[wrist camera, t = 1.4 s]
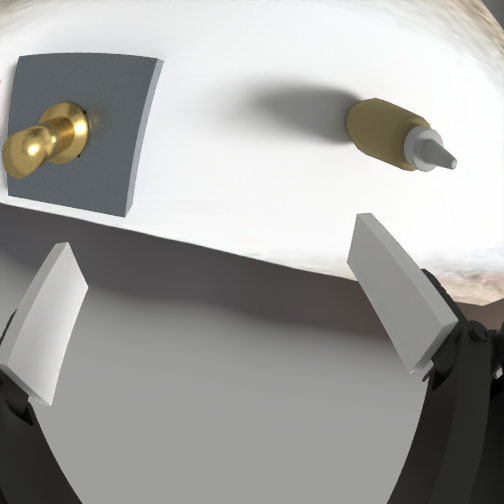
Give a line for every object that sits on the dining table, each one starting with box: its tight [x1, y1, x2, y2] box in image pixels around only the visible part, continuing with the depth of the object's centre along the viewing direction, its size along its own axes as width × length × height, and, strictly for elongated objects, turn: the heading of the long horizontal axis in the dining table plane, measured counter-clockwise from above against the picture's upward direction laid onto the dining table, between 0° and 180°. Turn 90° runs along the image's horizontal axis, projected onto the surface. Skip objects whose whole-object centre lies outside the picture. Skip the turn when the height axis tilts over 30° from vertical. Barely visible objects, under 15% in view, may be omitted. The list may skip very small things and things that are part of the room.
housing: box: [7, 53, 164, 217], centre depth 26 cm, size 20×20×4 cm
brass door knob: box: [2, 102, 89, 179], centre depth 22 cm, size 8×8×14 cm
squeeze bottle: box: [345, 98, 457, 172], centre depth 26 cm, size 8×8×18 cm
